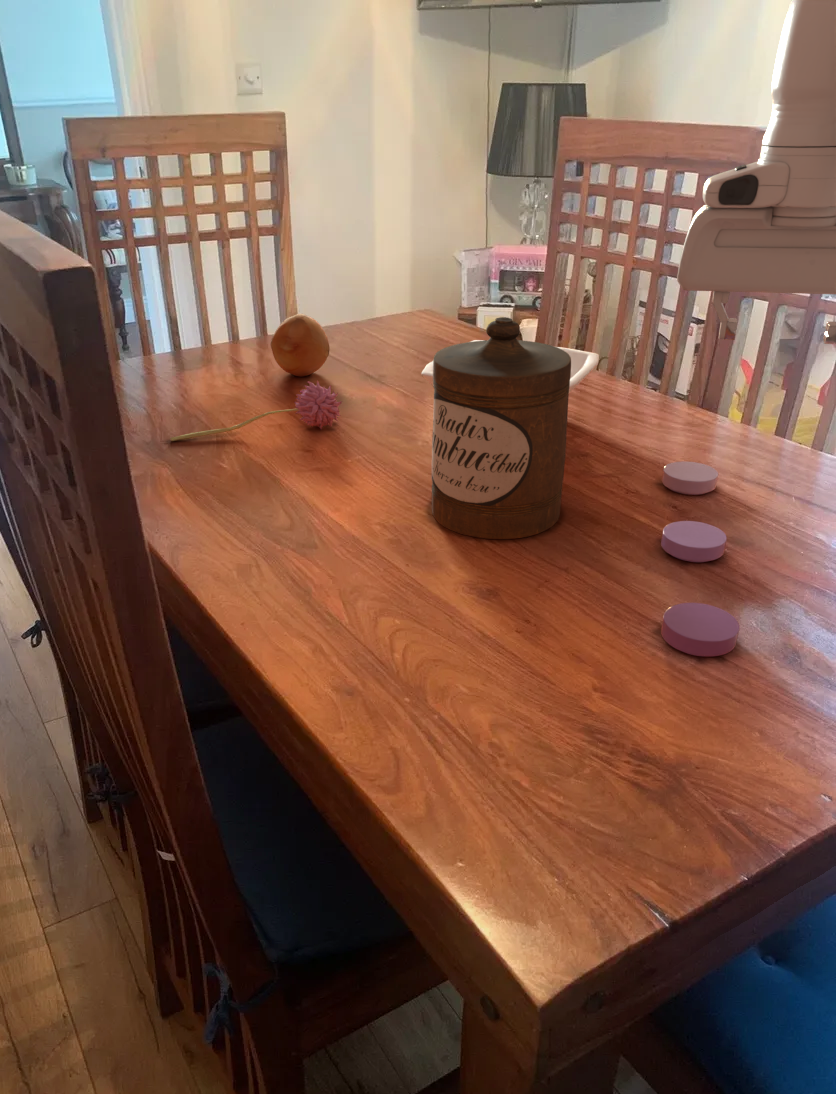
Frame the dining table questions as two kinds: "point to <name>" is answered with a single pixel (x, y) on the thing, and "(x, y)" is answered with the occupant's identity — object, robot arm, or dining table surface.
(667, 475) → the pale pink disc
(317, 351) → the onion
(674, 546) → the lavender disc
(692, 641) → the mauve disc
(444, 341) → the dining table surface
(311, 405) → the artificial flower
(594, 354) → the bowl
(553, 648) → the dining table surface
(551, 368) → the wooden container
